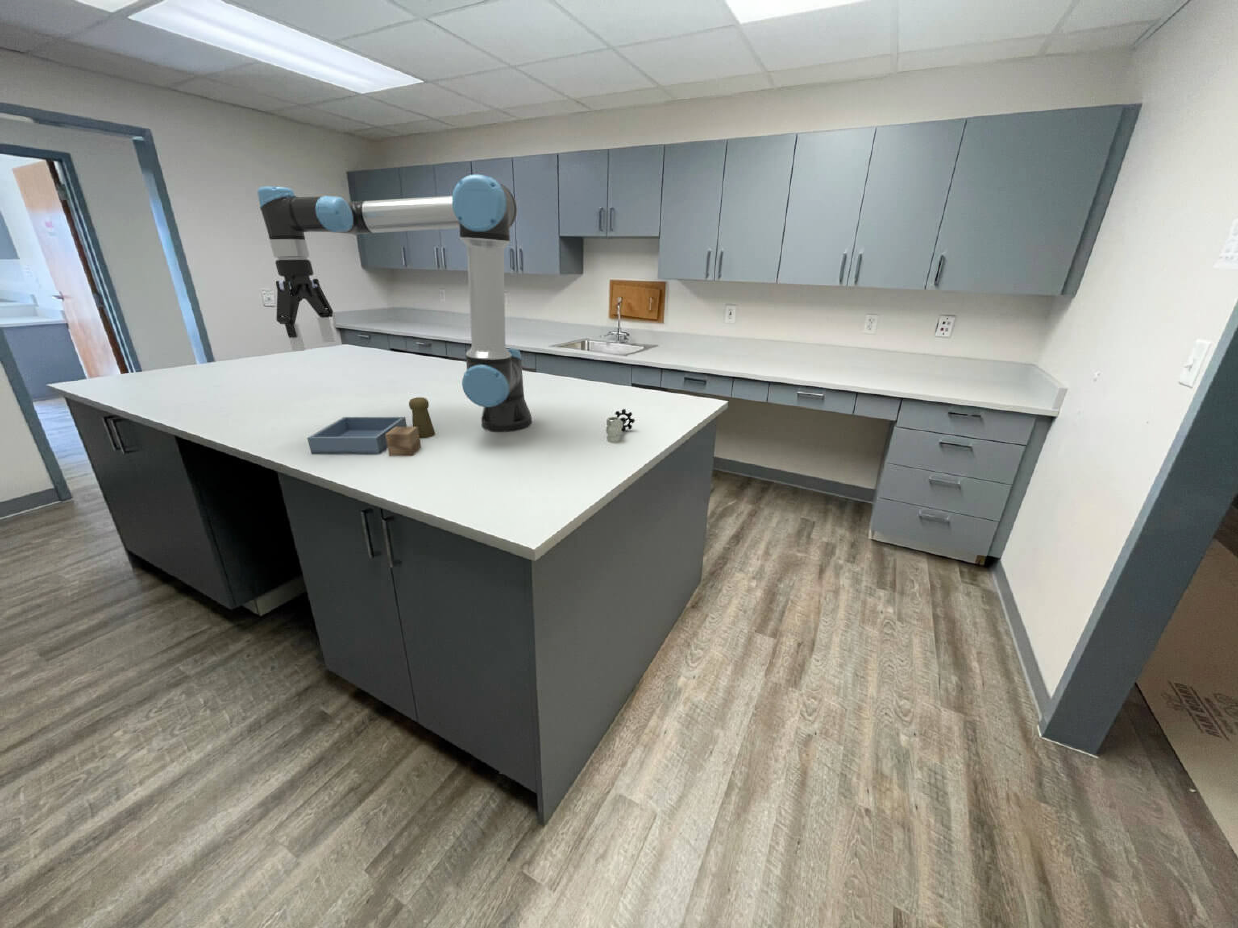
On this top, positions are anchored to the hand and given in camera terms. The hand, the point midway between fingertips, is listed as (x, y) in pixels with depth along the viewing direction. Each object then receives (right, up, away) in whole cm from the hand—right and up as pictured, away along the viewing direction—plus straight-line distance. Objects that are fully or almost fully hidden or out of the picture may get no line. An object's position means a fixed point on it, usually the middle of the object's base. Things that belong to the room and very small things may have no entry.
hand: (314, 346), depth 128 cm
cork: (+24, -23, +13) cm, 35 cm away
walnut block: (+24, -28, +1) cm, 37 cm away
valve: (+80, -23, +11) cm, 84 cm away
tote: (+9, -25, +7) cm, 28 cm away
